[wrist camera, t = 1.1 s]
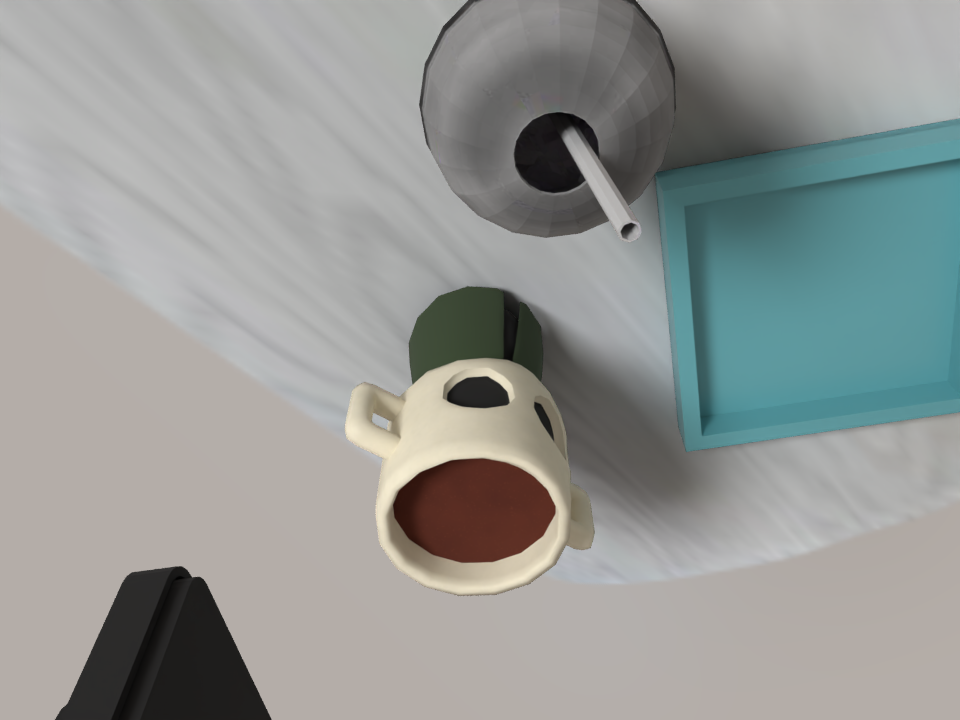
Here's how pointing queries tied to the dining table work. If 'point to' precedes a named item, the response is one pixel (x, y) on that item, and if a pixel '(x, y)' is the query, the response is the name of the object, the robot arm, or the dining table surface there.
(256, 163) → the dining table surface
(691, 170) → the tray
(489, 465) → the character mug
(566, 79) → the beverage cup
